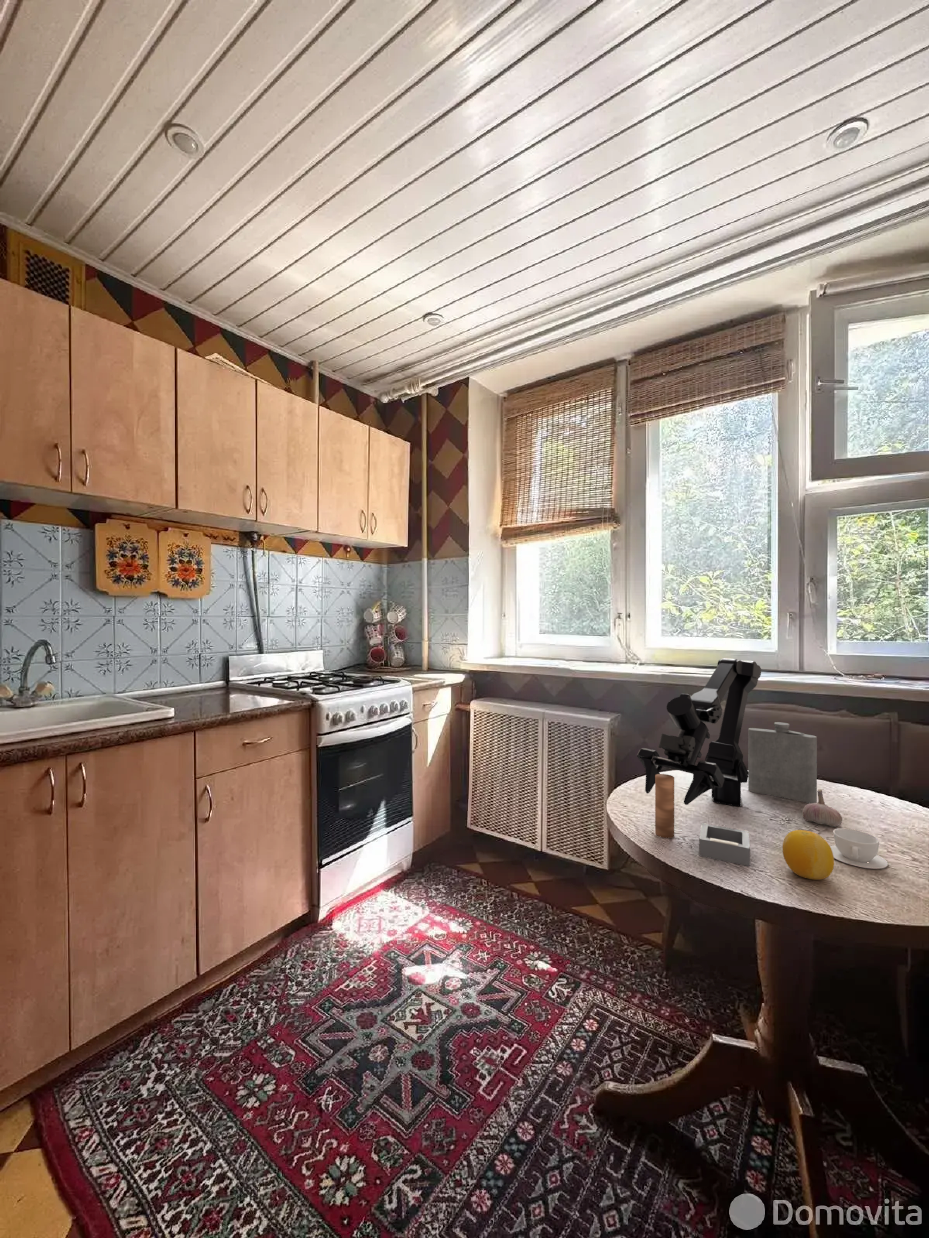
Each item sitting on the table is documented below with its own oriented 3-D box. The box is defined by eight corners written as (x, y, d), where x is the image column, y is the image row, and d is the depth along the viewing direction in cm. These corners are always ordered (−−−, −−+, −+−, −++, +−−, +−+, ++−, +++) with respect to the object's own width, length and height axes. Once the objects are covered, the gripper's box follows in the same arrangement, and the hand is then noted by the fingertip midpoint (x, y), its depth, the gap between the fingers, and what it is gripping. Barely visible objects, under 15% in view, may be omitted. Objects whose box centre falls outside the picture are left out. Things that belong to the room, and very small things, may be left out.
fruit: (845, 889, 89) (845, 845, 89) (796, 885, 90) (796, 841, 90) (818, 865, 97) (818, 824, 97) (773, 862, 99) (773, 822, 99)
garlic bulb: (795, 819, 120) (795, 786, 120) (816, 815, 123) (816, 783, 123) (828, 831, 113) (828, 796, 113) (849, 827, 116) (849, 793, 116)
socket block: (748, 847, 105) (748, 830, 105) (749, 866, 97) (749, 847, 97) (701, 838, 109) (701, 821, 109) (699, 855, 101) (699, 837, 101)
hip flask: (747, 791, 140) (747, 720, 140) (750, 787, 143) (750, 718, 143) (816, 804, 129) (816, 728, 129) (817, 800, 133) (817, 725, 133)
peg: (675, 832, 112) (675, 775, 112) (673, 839, 109) (673, 780, 109) (656, 829, 114) (656, 772, 114) (654, 835, 111) (654, 777, 111)
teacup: (827, 843, 108) (827, 821, 108) (887, 857, 101) (887, 834, 101) (823, 860, 100) (823, 837, 100) (888, 876, 94) (888, 851, 94)
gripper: (641, 714, 122) (614, 767, 115) (718, 727, 108) (693, 788, 101) (657, 742, 127) (633, 794, 120) (734, 757, 113) (711, 818, 106)
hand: (665, 797), depth 112 cm, fingers open, 9 cm apart
